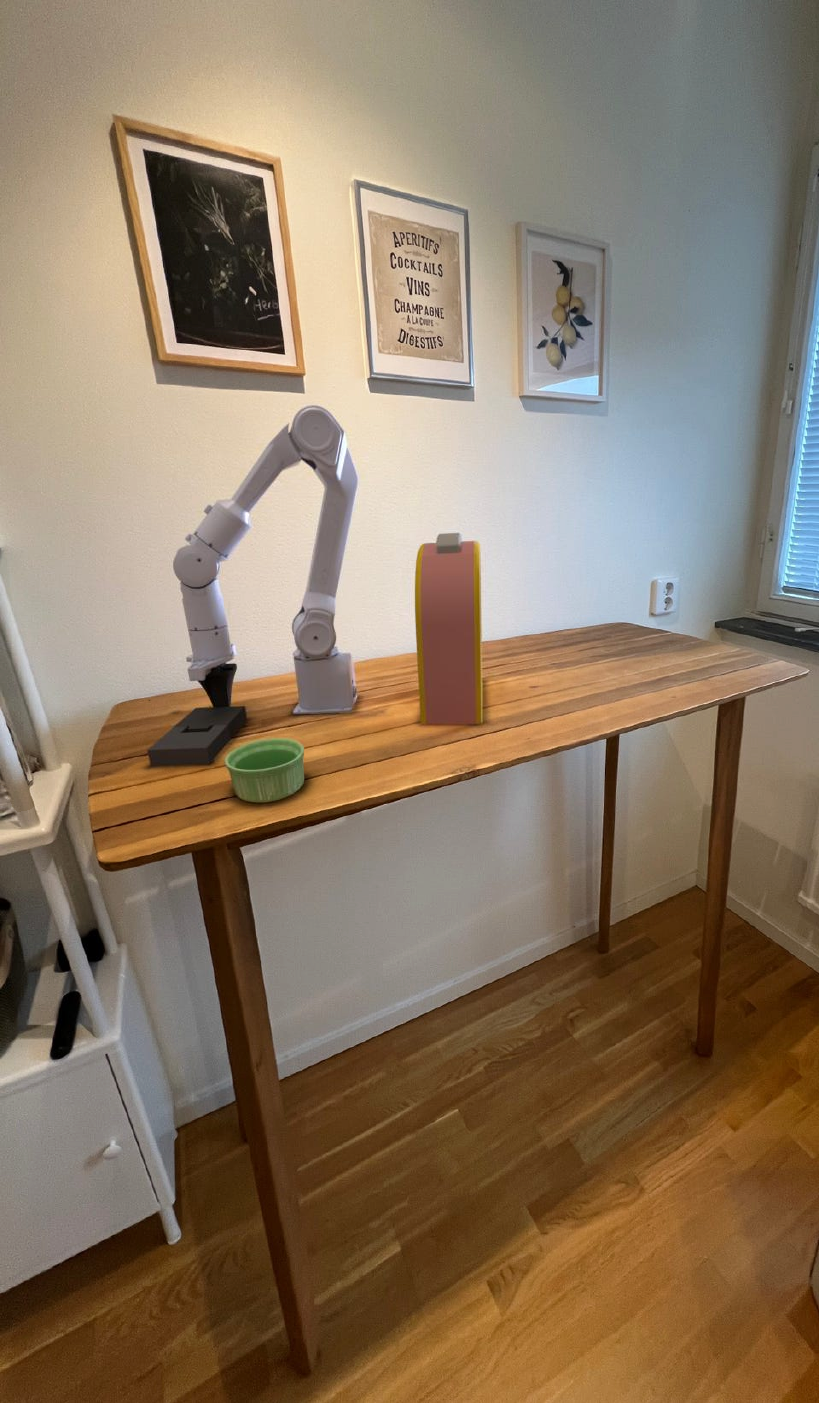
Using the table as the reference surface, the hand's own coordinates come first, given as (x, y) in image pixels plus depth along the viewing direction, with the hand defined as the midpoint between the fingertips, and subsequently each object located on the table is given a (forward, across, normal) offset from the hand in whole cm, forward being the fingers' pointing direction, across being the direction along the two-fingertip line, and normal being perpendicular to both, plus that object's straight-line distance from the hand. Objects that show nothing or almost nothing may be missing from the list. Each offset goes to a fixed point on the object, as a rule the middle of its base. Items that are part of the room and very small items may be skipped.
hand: (223, 711), depth 88 cm
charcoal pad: (+1, +13, 0) cm, 13 cm away
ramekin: (+2, +24, +14) cm, 28 cm away
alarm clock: (+2, -4, +37) cm, 37 cm away
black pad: (+1, +5, 0) cm, 5 cm away
